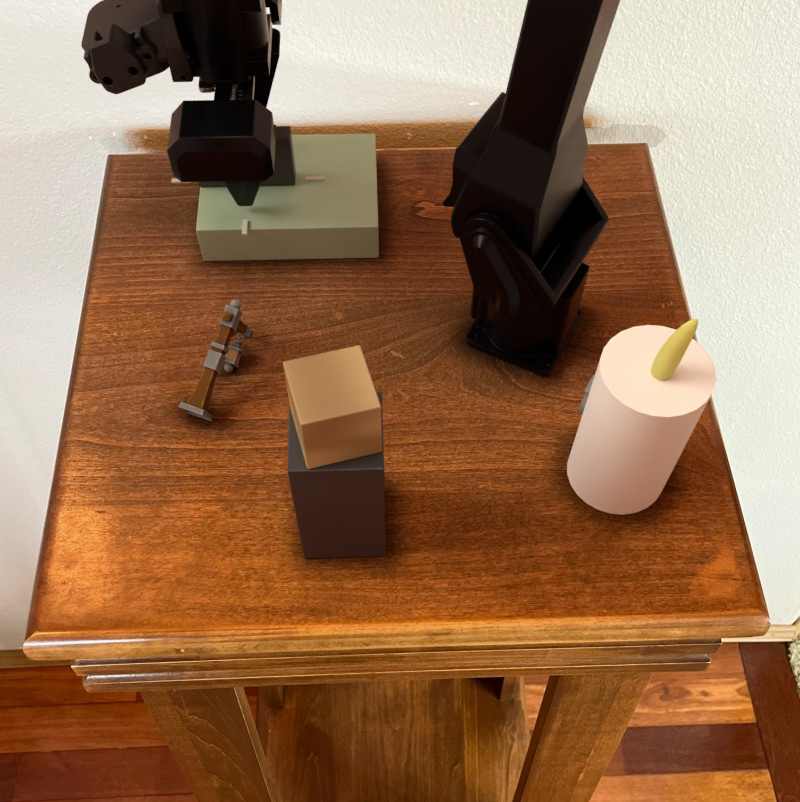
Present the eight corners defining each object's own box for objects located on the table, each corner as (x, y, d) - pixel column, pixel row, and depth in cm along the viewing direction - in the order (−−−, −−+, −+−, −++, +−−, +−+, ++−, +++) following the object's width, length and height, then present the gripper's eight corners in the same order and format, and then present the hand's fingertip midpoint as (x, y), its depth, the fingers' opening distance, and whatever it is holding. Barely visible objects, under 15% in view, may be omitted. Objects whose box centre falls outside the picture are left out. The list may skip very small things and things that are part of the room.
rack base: (375, 160, 72) (375, 125, 69) (379, 263, 67) (378, 231, 64) (186, 163, 72) (177, 129, 69) (174, 268, 66) (164, 235, 64)
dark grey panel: (295, 172, 67) (290, 122, 63) (295, 185, 66) (289, 136, 62) (201, 174, 67) (189, 124, 63) (199, 187, 66) (188, 137, 62)
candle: (585, 416, 60) (639, 248, 47) (678, 455, 59) (761, 292, 46) (548, 488, 58) (594, 331, 44) (644, 530, 56) (721, 381, 43)
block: (362, 392, 49) (360, 344, 45) (382, 452, 47) (381, 406, 43) (290, 409, 48) (282, 361, 45) (307, 470, 46) (300, 425, 43)
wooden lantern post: (266, 322, 63) (245, 299, 58) (225, 429, 62) (201, 414, 58) (243, 315, 63) (220, 291, 59) (201, 421, 63) (176, 405, 58)
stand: (383, 486, 58) (381, 391, 49) (385, 556, 55) (384, 469, 46) (305, 488, 57) (289, 393, 49) (303, 558, 55) (287, 471, 46)
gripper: (90, -131, 56) (149, 93, 70) (44, 56, 48) (122, 271, 61) (268, -133, 57) (292, 91, 70) (255, 53, 48) (286, 268, 62)
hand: (247, 174), depth 66 cm, fingers open, 6 cm apart
